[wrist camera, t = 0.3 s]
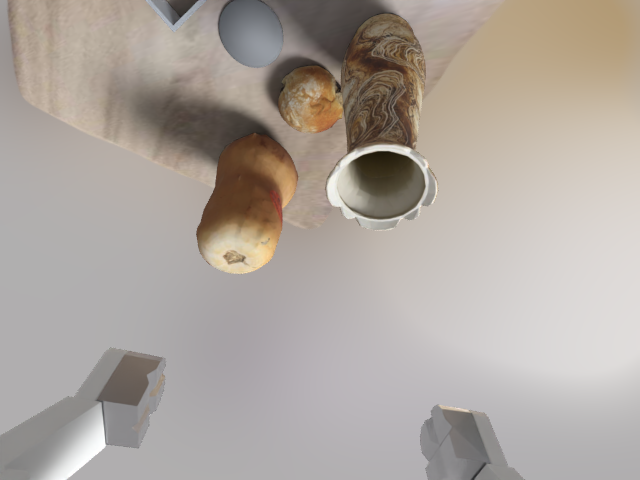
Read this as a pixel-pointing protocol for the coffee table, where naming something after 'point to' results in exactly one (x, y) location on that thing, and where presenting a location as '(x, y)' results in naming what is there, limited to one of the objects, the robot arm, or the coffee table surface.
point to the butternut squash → (247, 204)
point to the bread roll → (310, 99)
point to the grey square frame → (172, 12)
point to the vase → (382, 128)
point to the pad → (251, 32)
